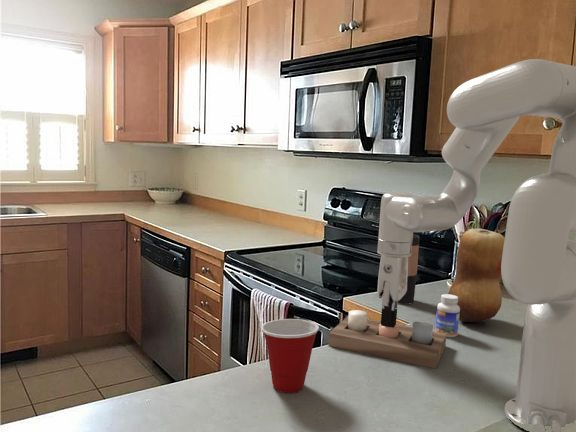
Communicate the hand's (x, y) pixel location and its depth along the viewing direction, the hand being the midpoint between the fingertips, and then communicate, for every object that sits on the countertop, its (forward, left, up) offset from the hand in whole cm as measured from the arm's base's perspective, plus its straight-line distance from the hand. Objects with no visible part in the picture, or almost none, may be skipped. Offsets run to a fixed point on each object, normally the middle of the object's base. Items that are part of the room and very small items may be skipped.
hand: (388, 325), depth 119 cm
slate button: (0, -8, -2) cm, 8 cm away
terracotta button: (0, 0, -4) cm, 4 cm away
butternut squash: (+29, -16, -5) cm, 34 cm away
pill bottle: (+15, -11, -5) cm, 20 cm away
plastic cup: (-30, +12, -5) cm, 32 cm away
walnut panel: (0, 0, -5) cm, 5 cm away
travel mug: (+37, +5, -5) cm, 38 cm away
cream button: (0, +7, -2) cm, 8 cm away
